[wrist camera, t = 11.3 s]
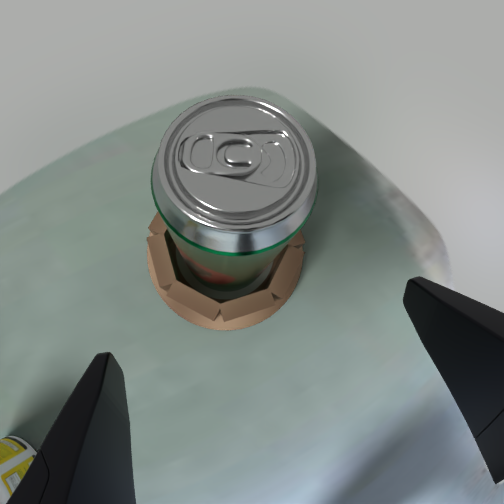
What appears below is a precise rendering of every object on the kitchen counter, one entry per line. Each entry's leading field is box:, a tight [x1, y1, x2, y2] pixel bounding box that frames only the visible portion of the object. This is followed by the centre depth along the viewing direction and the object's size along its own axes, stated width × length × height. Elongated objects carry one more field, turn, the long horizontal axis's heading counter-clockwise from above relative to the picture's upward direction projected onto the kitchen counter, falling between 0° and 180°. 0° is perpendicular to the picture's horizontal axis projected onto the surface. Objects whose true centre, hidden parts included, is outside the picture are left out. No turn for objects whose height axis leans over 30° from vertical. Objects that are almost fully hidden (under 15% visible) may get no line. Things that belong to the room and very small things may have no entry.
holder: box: [147, 212, 305, 330], centre depth 19 cm, size 10×10×4 cm
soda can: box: [151, 95, 318, 292], centre depth 14 cm, size 5×5×12 cm
